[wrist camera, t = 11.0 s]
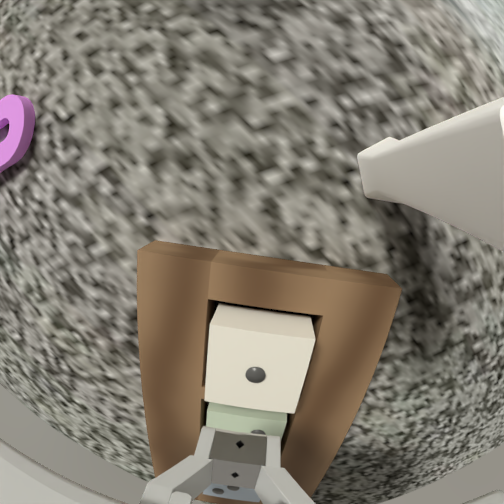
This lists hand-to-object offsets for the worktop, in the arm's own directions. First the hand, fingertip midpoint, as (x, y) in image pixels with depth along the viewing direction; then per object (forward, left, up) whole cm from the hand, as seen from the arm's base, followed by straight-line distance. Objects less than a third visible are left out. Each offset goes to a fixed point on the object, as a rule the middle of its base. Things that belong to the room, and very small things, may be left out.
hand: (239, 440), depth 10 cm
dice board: (0, +7, -9) cm, 11 cm away
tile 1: (0, 0, -7) cm, 7 cm away
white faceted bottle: (-6, -11, -9) cm, 16 cm away
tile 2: (0, +7, -8) cm, 11 cm away
